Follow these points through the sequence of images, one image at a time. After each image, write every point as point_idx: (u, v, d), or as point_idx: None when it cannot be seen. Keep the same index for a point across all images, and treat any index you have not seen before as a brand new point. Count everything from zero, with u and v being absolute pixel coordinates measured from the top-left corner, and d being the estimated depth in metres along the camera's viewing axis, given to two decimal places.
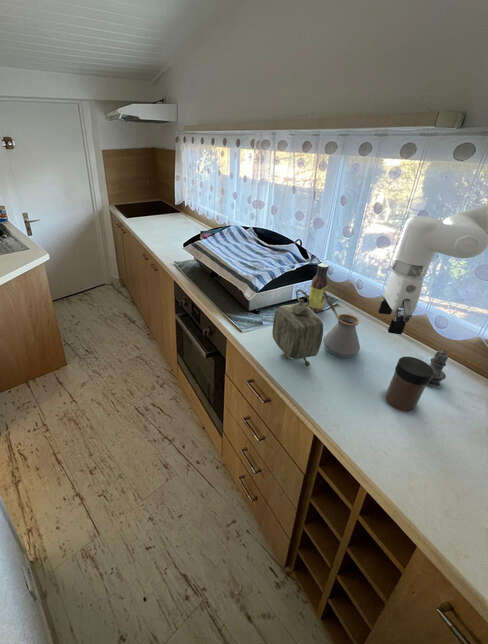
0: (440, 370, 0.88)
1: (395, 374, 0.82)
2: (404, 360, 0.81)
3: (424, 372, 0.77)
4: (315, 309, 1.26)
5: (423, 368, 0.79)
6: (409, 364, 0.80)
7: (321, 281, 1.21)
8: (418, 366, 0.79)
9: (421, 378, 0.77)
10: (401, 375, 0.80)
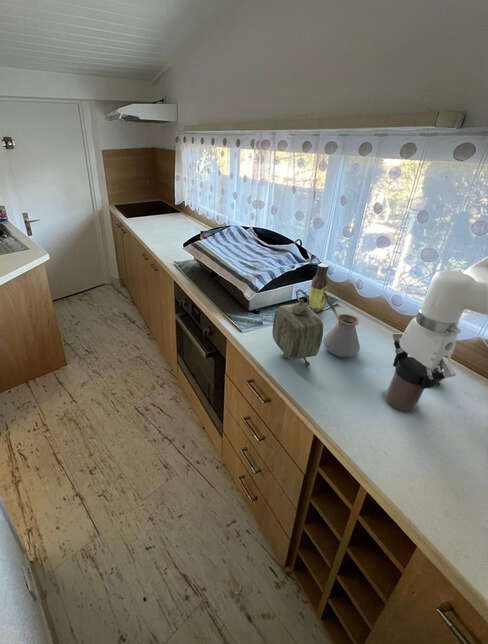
0: None
1: (395, 374, 0.82)
2: (404, 360, 0.81)
3: (424, 372, 0.77)
4: (315, 309, 1.26)
5: (423, 368, 0.79)
6: (409, 364, 0.80)
7: (321, 281, 1.21)
8: (418, 366, 0.79)
9: (421, 378, 0.77)
10: (401, 375, 0.80)
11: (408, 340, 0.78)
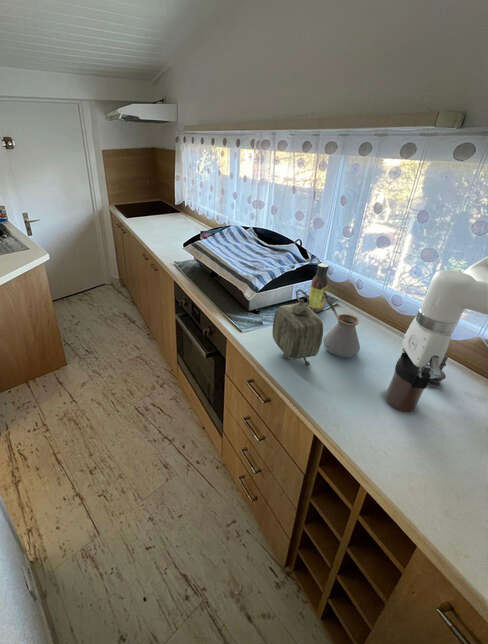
0: (440, 370, 0.88)
1: (395, 374, 0.82)
2: None
3: (410, 359, 0.82)
4: (315, 309, 1.26)
5: (408, 362, 0.81)
6: None
7: (321, 281, 1.21)
8: (411, 364, 0.80)
9: None
10: None
11: None
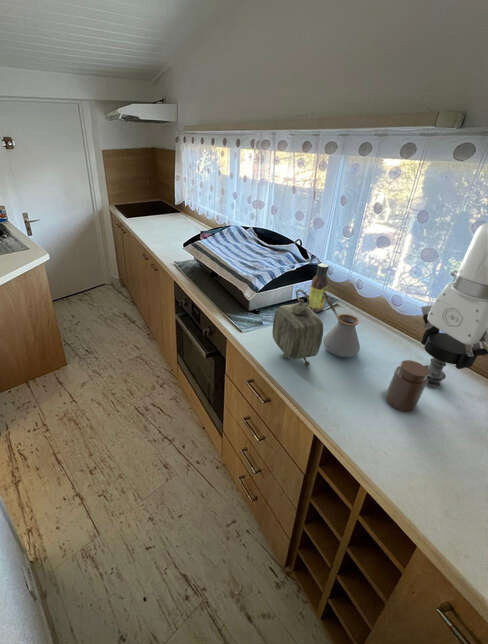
0: (440, 370, 0.88)
1: (395, 374, 0.82)
2: (464, 349, 0.65)
3: (438, 336, 0.69)
4: (315, 309, 1.26)
5: (439, 340, 0.68)
6: (457, 344, 0.67)
7: (321, 281, 1.21)
8: (445, 341, 0.68)
9: None
10: None
11: None
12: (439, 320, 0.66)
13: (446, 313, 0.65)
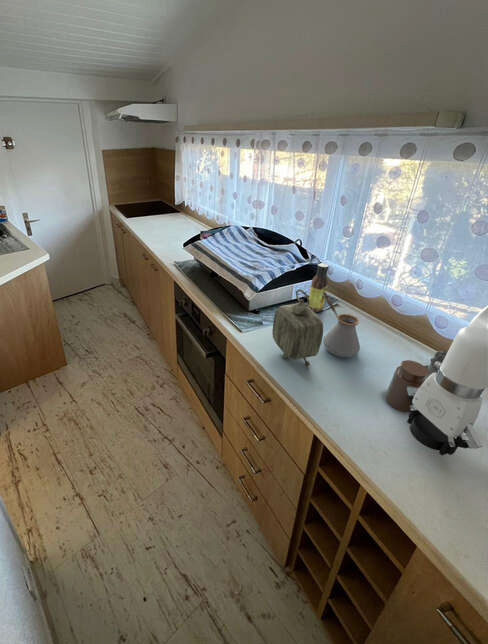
0: None
1: (395, 374, 0.82)
2: (446, 435, 0.68)
3: (423, 418, 0.72)
4: (315, 309, 1.26)
5: (424, 423, 0.71)
6: None
7: (321, 281, 1.21)
8: (429, 426, 0.70)
9: None
10: None
11: None
12: (423, 407, 0.69)
13: (430, 402, 0.67)
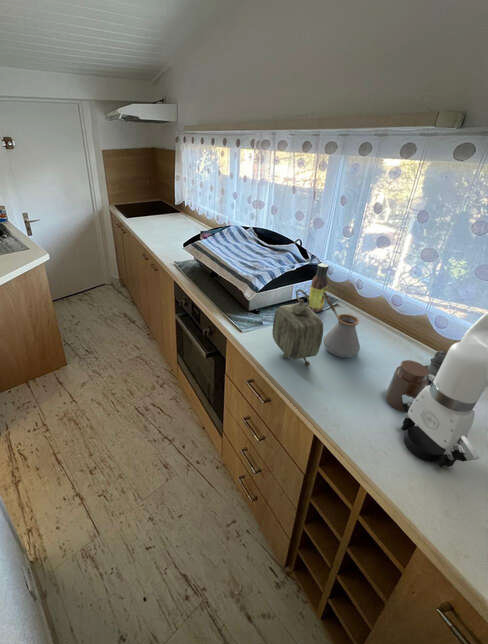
0: None
1: (395, 374, 0.82)
2: (439, 448, 0.70)
3: (416, 431, 0.74)
4: (315, 309, 1.26)
5: (417, 436, 0.73)
6: (433, 442, 0.72)
7: (321, 281, 1.21)
8: (422, 438, 0.72)
9: None
10: None
11: None
12: (418, 419, 0.71)
13: (424, 414, 0.69)
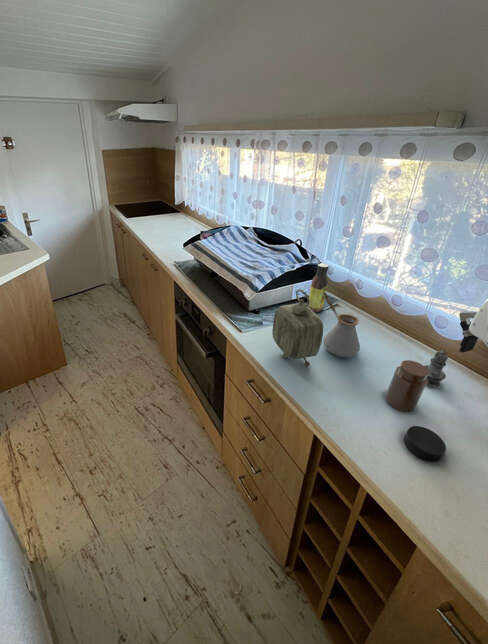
0: (440, 370, 0.88)
1: (395, 374, 0.82)
2: (439, 448, 0.70)
3: (416, 431, 0.74)
4: (315, 309, 1.26)
5: (417, 436, 0.73)
6: (433, 442, 0.72)
7: (321, 281, 1.21)
8: (422, 438, 0.72)
9: None
10: None
11: None
12: (484, 331, 0.63)
13: None
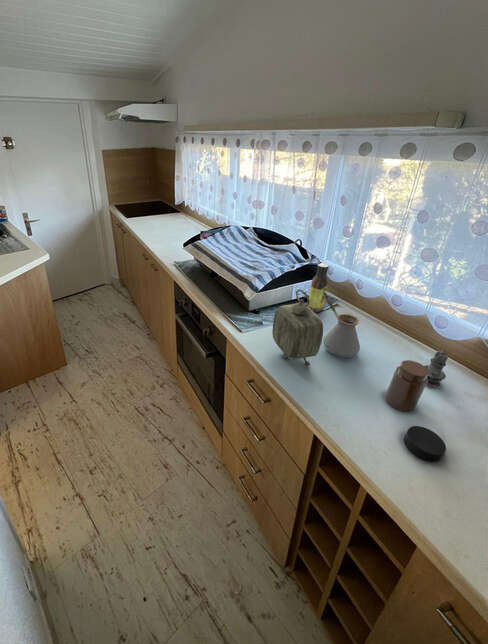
0: (440, 370, 0.88)
1: (395, 374, 0.82)
2: (439, 448, 0.70)
3: (416, 431, 0.74)
4: (315, 309, 1.26)
5: (417, 436, 0.73)
6: (433, 442, 0.72)
7: (321, 281, 1.21)
8: (422, 438, 0.72)
9: None
10: None
11: None
12: None
13: None
